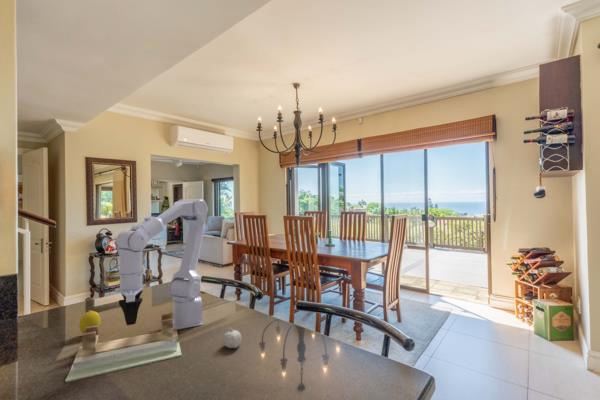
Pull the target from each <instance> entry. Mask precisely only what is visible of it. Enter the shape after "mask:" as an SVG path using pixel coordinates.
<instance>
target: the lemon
mask: <svg viewBox="0 0 600 400" xmlns="http://www.w3.org/2000/svg"><path fill="white" fill-rule="evenodd" d="M96 325H98V329H100V325H101V316H100V314H99V313H98V312H97V311H95V310H92V309H91V310H88V311H86V312H85V313H84V314H83V315H82V316H81V317H80V320H79V325H78V327H79V330H80V332H82V334H83V333H85V328H86V327H90V326H96Z"/></svg>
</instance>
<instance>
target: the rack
mask: <svg viewBox="0 0 600 400" xmlns="http://www.w3.org/2000/svg"><path fill="white" fill-rule="evenodd" d="M160 316H161V322H160V323H161V331H155V332H152V333H145V334H140V335H135V336H130V337H124V338H119V339H114V340H107V341H103V342H99V328H98V325H96V326H90V327H86V328H85V333H82V335H81V345H82V346H79V348H78V350H77V352H76V354H75V358H78V357H83V356H88V355H93V354H99V353H104V352H109V351H114V350H119V349H124V348H129V347H134V346H139V345H144V344H149V343H154V342H159V341H164V340H169V339H174V338H176V340H179V334H178V329H173V314H172V313H166V314H161V315H160ZM75 358H74V359H75Z"/></svg>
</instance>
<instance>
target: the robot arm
mask: <svg viewBox="0 0 600 400" xmlns="http://www.w3.org/2000/svg"><path fill="white" fill-rule="evenodd" d="M208 212H209V206H208V204H207V202H206V201H205V200H204V199H202V198H199V199H190V198H189V199H186V198H180V199H179V200H177V201H175V202H174V203H173V205H171V206H170V207H169V208H168V209H166V210H164V211H163V212H162V213H160V214H159V215H158V216H157V217H156V216H146V217H144V220H143V221H142V222H140V223H138V224H137V225H135V224H134V225H133V226H131V229H129V230H125V229H124V230H122V231H121V232H119V233H118V235H117V237H116V239H115V240H114V242H113V244H114V246H115V248H116V249H117V252H118V255H119V287H117V288H115V290H114V293H120V294H121V296H122V297H123V299H119V300H118V304H119V305H118V306H119V307H120V308H121V310H122V312H123V316H124V320H125V325H126V326H132V325H135V324H136V323H137V319H138V312H139V308H140V306H141V305H142V302H143V297H141V296H142V293H143V290H144V285H143V282H144V281H143V278H144V277H143V276H144V275H143V267H144V266H143V263H144V262H143V250H145V248H146V247H147V245H148V242H149V241H150V240H152V239H153V238H154V237H156V236H158V235H159V234H160V233H162V232H163V230H164V226H166V225H167V224H169V223H170V222H173V221H174V220H176V219H178V218H179V217H180V218H181V219H182V220H183V221H184V222H185V223H186V224H187V225H188V231H187V236H186V241H185V245H184V250H183V254H182V259H181V263H180V265H179V269H178V270H177V271H176V272H175V273H174V274H173V275H172V278H171V280H170V282H169V285H168V286H167V287H168V288H167V291H168V294H169V296H171V300H172V301H173V306H172V307H173V308H172V309H173V311H172V312H173V314H172V318H173V329H177V330H183V329H188V328H192V327H198V326H202V325H203V303H202V302H203V301H202V297H201V296H199V294H200V293H201V280H202V278H201V276H200V275H199V274H198V273H197V267H198V262H199V259H200V258H199V257H200V253H201V248H202V244H203V239H204V234H205V229H206V225H207V224H206V223H207V222H206V221H207V217H208Z"/></svg>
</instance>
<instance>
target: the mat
mask: <svg viewBox="0 0 600 400" xmlns="http://www.w3.org/2000/svg"><path fill="white" fill-rule="evenodd" d="M179 357H182V351H181V346H180V342H179V341H177V351H174V352H169V353H165V354H160V355H156V356H151V357H146V358H142V359H137V360H133V361H128V362H124V363H119V364H114V365H110V366H105V367H101V368H96V369H91V370H87V371H82V372H78V373H73V364H72V365H71V368H70V370H69V372H68V374H67V376H66V378H65V381H64V382H65V383H68V382H72V381H77V380H82V379H86V378H89V377H95V376H99V375H103V374H108V373H112V372H117V371H121V370H122V371H123V370H125V369H131V368H134V367H139V366H144V365H148V364H152V363H157V362H161V361H164V360H170V359H174V358H179Z"/></svg>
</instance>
